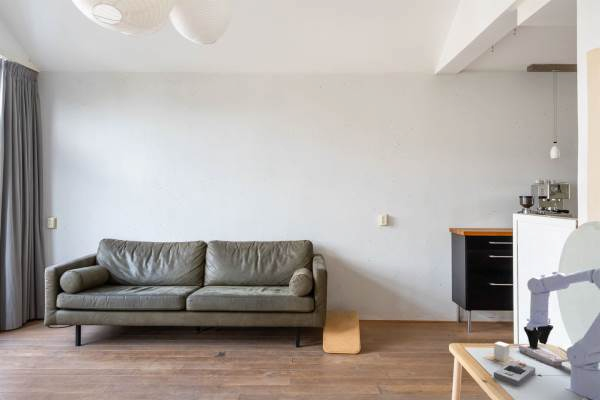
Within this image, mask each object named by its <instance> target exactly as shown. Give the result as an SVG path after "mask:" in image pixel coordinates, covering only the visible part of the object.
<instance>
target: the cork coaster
mask: <svg viewBox="0 0 600 400" xmlns="http://www.w3.org/2000/svg"><path fill="white" fill-rule="evenodd" d="M483 359H484V360H485V359H486V360H488V361H491V362H494V363H496V364H498V365H499V364H500V365H501V366H504V365H506V364H507V363H509V362H510V361H512V360H513V361H516V362H520V360H519V359H516V358H513V357H511V356H509V360H507V361H505V362H503V361H500V360H497V359H494V352H493V353H491V354H488V355H486V356H483Z"/></svg>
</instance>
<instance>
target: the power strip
mask: <svg viewBox="0 0 600 400" xmlns="http://www.w3.org/2000/svg"><path fill="white" fill-rule="evenodd" d="M535 374H536V367H533V366H530V365H527V363H526V362H524V361H523V362H522V361H519V362H516V361H513V360H512V361H510V362H509V363H507V364H506V365H501V367H499V368H498V369H496V370H495V371H493V379H496V380H498V381H501V382H503V383H506V384H509V385H511V386H514V387H520V386H521V385H522V384H524V383H525V382H526V381H528V380H529V379H530V378H532V376H534V375H535Z"/></svg>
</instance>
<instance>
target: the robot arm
mask: <svg viewBox="0 0 600 400" xmlns="http://www.w3.org/2000/svg"><path fill="white" fill-rule="evenodd" d="M584 282H589V283H590V284H594V285H595V286H596V288H597V289H599V291H600V267H599V268H589V269H583V270H579V271H576V272H573V273H569V274H565V273H563V272H559V271H553V272H551V274H548V275H545V274H542V275H540V277H532V278H530V279H528V281H527V284H526V285H527V289H528V291H529V292H530V301H529V302H530V306H529V309H530V310H529V317H528V318H526V321H527V322H528V323H526V326H523V330H524V331H523V332H525V334H526V336H527V341H528V344H529V345H530V347H532V348H535V349H536V348H537V347H538V346H539V344H541V345H542V344H543V345H547V343H548V340H549V336H550V334H551V332H552V330H553V329H554V325H552V324H551V318H550V317H549V300H550V299H549V298H550V294H551V292H555V291H560V290H567V289H568V288H569V287H570V285H571V284H577V283H578V284H579V283H584ZM550 324H551V325H550ZM565 354H566V355H565V356H566V357H567V359H568V360H569V361H568V362H569V363H570V385H567V386H566V387H565V388H564V389H565V390H567V391H569V392H572V393H576V394H578V395H581V396H583V397H585V398H587V399H589V400H600V369H599V366H600V365H599V363H600V312H598V315H596V317H595V319H594V320H593V322H592V323H591V325H590V326H589V328H588V330H587V331H586V333H585V334H584V335H583V337H582V338H580V339H579V340H577V341H576V342H574V344H573V345H572V346H569V347H568V348H567V349H566V353H565Z"/></svg>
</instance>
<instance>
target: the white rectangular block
mask: <svg viewBox="0 0 600 400" xmlns="http://www.w3.org/2000/svg"><path fill="white" fill-rule="evenodd" d="M493 345H494V346H493V353H494V359H497V360H500V361H503V362H505V361H507V360H509V357H510V344H509V343H506V342H503V341H496V342H494V343H493Z"/></svg>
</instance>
